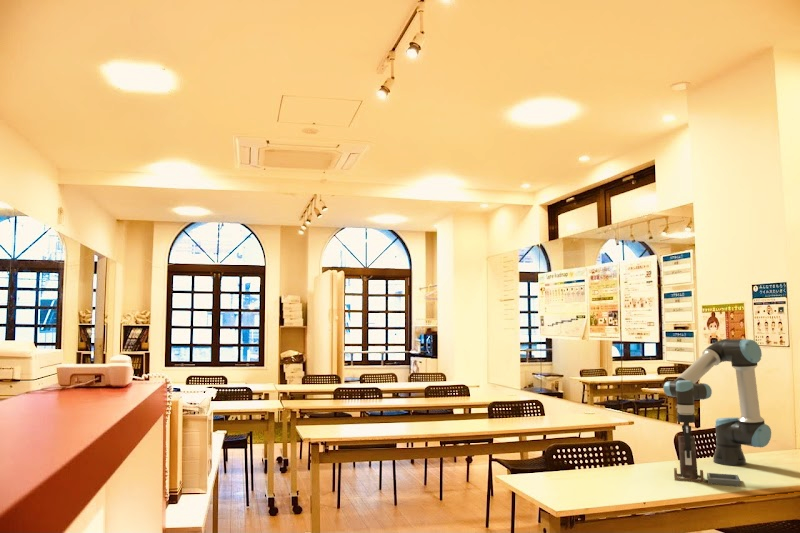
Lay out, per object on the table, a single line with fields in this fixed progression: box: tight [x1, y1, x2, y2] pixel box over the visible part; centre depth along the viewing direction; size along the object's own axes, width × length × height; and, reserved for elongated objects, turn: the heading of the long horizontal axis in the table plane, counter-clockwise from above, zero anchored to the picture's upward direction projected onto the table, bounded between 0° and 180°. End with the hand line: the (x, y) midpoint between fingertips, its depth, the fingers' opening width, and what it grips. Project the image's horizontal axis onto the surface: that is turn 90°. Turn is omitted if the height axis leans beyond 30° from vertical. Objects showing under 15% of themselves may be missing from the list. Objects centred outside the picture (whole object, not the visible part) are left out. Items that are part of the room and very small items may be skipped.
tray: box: [706, 472, 742, 487], centre depth 294 cm, size 13×13×2 cm
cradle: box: [673, 467, 705, 483], centre depth 301 cm, size 10×12×4 cm
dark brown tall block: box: [677, 434, 699, 479], centre depth 302 cm, size 8×7×20 cm
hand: (688, 463), depth 301 cm, fingers closed on dark brown tall block, 7 cm apart
